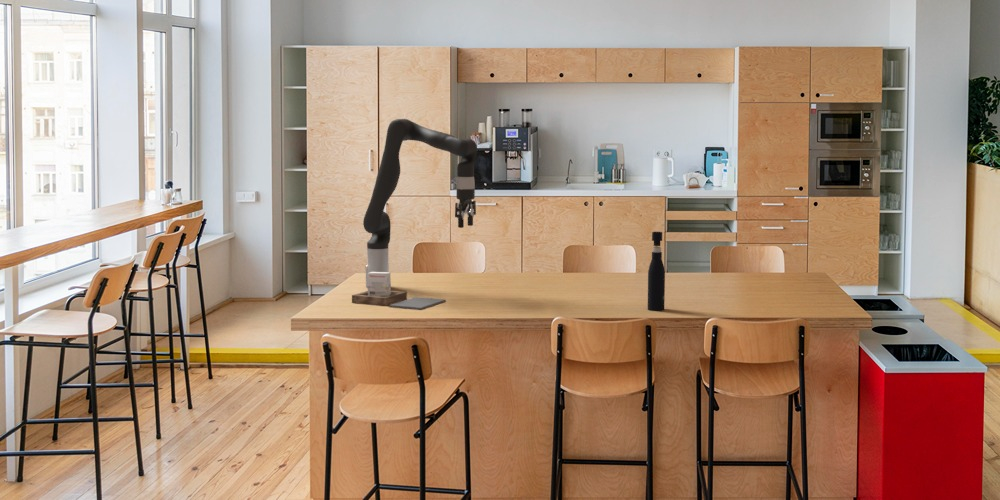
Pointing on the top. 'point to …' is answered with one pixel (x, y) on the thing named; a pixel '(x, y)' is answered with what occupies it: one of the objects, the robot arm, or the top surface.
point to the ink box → (379, 284)
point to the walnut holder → (379, 298)
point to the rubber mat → (417, 303)
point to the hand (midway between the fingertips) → (465, 226)
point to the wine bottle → (656, 276)
